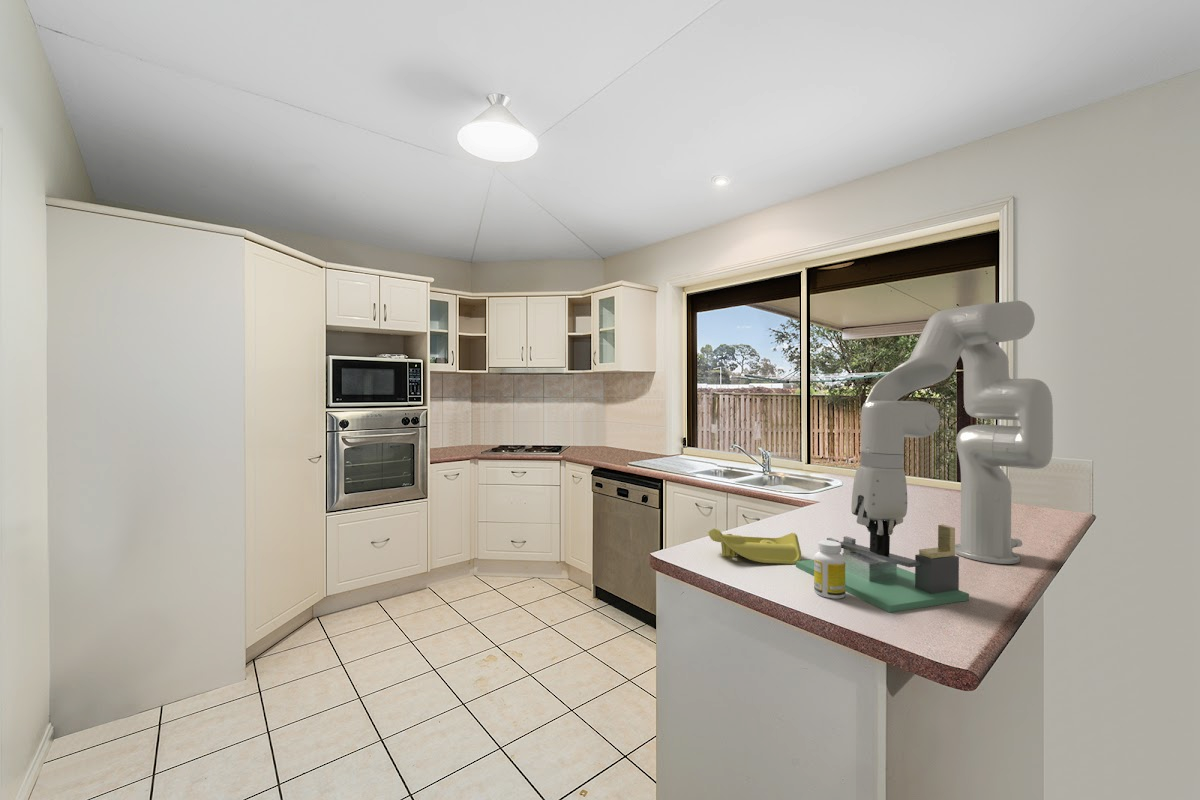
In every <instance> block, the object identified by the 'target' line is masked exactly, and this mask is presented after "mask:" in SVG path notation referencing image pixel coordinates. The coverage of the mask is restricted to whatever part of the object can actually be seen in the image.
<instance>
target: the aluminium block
mask: <svg viewBox="0 0 1200 800" xmlns="http://www.w3.org/2000/svg"><path fill="white" fill-rule="evenodd" d="M841 555H842V556H844V558H845V571H847V572H849V573H851V574H853V575H856V576H858V577H860V578H863V579H865V580H867V581H877V580H885V579H893V578H897V567H898V566H897V565H898V564H895V563H892V562H888V561H885V560H881V559H878V558H874V557H871V556H867V555H864V554H860V553H857V552H848V553H843V552H841Z"/></svg>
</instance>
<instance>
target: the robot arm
mask: <svg viewBox="0 0 1200 800" xmlns="http://www.w3.org/2000/svg"><path fill="white" fill-rule="evenodd" d="M1035 317H1036V316H1035V313H1034V310H1033V309H1032V307H1031V306H1030V305H1029V304H1028V303H1027V302H1025V301H1022V300H1012V301H1004V302H1003V301H1001V302H988V303H979V304H972V305H966V306H960V307H959V306H958V307H953V308H947V309H942V310H939V311H937V312H935V313H933V314H932V315H931V316H930V317H929V318H928V320H927V322H926V323H925V326H924V327H923V330H922V332H921V333H920V336H919V338H918V340H917V341H916V342H917V343H916V344H915V345H914V348H913V350H912V351H911V354H910V356H909V358H908V359H907V360H906V361H904V362H902V363H900V364H899V365H898V366H896V367H895V368H893V369H891V370H890V371H889V372H888V373H887V374H885V375H884V376H882V377H881V378H880V379H879V380H878V381H877V382H876V383H875V384H874V385H873V387H872V388H871V389H870V391H869V394H868V395H867V398H866V400H865V402H863V405H862V407H861V413H860V422H861V423H860V426H861V427H860V456H859V457H860V459H859V461H860V462H859V463H860V466H859V467H856V471H855V474H854V475H855V476H854V481H853V485H852V491H851V494H852V496H851V505H850V506H851V508H850V509H851V513H852V515H854V516H857V517H856V523H857V524H859V525H862V526H864V527H865V528H867V532H868V533H869V548H870V551H871V552H873V553H876V554H879V555H881V556H884V555H889V553H890V549H891V548H890V547H891V546H890V543H891V540H890V539H891V535H893V533H894V528H895V527H896V526H897V525H900V524H903V522H904V518H905V517H906V516H907V514H908V485H907V478H906V472H905V469H904V467H905V466H904V464H905V463H904V462H905V457H904V455H905V453H904V452H905V438H917V439H918V438H921V439H922V438H927V437H929V436H931V435H933V434H934V433H935V432H936V431H937V430H938V428H939V427H940V424H941V416H940V413H939V411H938V409H937V408H936V407H935V406H933V405H932V404H930V403H929V402H926V401H921V400H920V401H919V400H918V401H917V400H899V399H901V398H903V397H904V396H907V395H908V394H910V393H913V392H915V391H917V390H921V389H924V388H927V387H930V386H933V385H935V384H938V383H940V382H943V381H944V380H946V379H948V378H949V377H950V376H951V375H952V374H953V372H954V371H955V368H956V366H957V363H958V361H959V359H960V358H961V360H962V365H963V404H964V410H965V412H966V414H967V415H969V416H970V417H972V418H976V419H983V420H1005V421H1009V420H1010V421H1018V422H1019V424H1020V426H1018V425H1003V424H1002V425H1001V424H999V425H998V424H972V425H968V426H965V427H963V428H961V429H960V430H959V432H958V433H957V435H956V438H955V445H956V450H957V455H958V460H959V468H960V543H955V555H957V556H961V557H964V558H966V559H970V560H975V561H978V562H984V563H989V564H990V563H991V564H999V565H1013V564H1018V563H1020V561H1021V559H1020V556H1019V554H1017V553H1015V552H1013V549H1014V548H1018V547H1022V546H1023V541H1022V540H1021V539H1019V538H1012V484H1011V481H1010V478H1008V476H1007V475H1006V473H1005V472H1004V471H1003V470H1002V468H1001V467H1008V468H1017V469H1029V470H1037V469H1044V468H1045V467H1046V466H1048V465H1049V464H1050V462H1051V460H1052V457H1053V449H1054V448H1053V446H1054V444H1053V443H1054V441H1053V439H1054V438H1053V437H1054V436H1053V435H1054V434H1053V433H1054V432H1053V430H1054V429H1053V427H1054V426H1053V425H1054V424H1053V423H1054V421H1053V419H1054V418H1053V417H1054V416H1053V413H1054V411H1053V409H1054V408H1053V407H1054V405H1053V396H1052V393H1051V390H1050V387H1048V385H1047V384H1046V383H1045V382H1044V381H1042V380H1040V379H1037V378H1010V372H1009V368H1010V367H1009V361H1010V360H1009V357H1008V355H1007V353H1006V351H1004V349H1003V348H1002V347H1000V345H998V344H997V343H1006V342H1009V341H1010V342H1011V341H1015V340H1017V341H1018V340H1021V339H1024V338H1025V337H1027V336H1028V335H1029V334H1030V333H1031V332H1032V331H1033V328H1034V326H1035Z"/></svg>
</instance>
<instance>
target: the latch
mask: <svg viewBox="0 0 1200 800" xmlns="http://www.w3.org/2000/svg"><path fill="white" fill-rule="evenodd" d="M955 545H956V527H955V526H954V527H953V526H950V525H945V524H938V525H937V547H932V548H931V547H929V548H923V549H918V553H919V555H922V556H925V557H928V558H931V559H933V558H941V557H950V556H956V553H955Z"/></svg>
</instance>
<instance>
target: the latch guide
mask: <svg viewBox="0 0 1200 800" xmlns="http://www.w3.org/2000/svg"><path fill="white" fill-rule="evenodd" d="M914 557H915V559H914V560H917V561H921V566H917V567H915V568H914V571H915V572H914V573H915V588H918V589H920V590H922V591H925V592H927V593H930V594H934V593H941V592H948V591H955V590H960V589H959V587H960V586H959V585H960V569H959V568H960V557H959V555H955V556H950V557H941V558H933V559H931V558H928V557H925V556H922V555H919V554H918V553H917V554H915V555H914Z"/></svg>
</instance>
